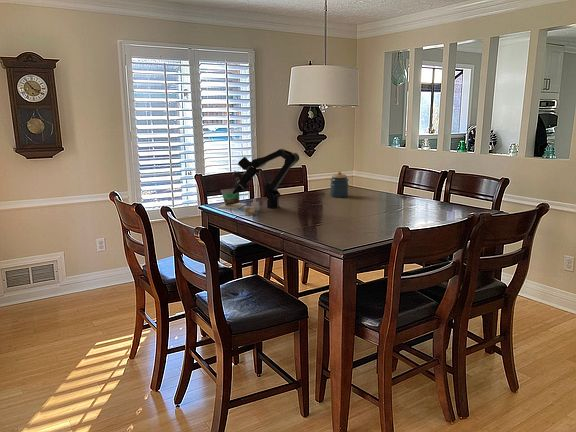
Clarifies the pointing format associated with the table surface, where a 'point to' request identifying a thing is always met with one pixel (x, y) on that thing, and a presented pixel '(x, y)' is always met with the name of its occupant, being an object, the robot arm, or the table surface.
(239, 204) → the cream tile
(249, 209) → the birch block
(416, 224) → the table surface
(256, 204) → the grey plastic cylinder
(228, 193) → the food container
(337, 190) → the canister
